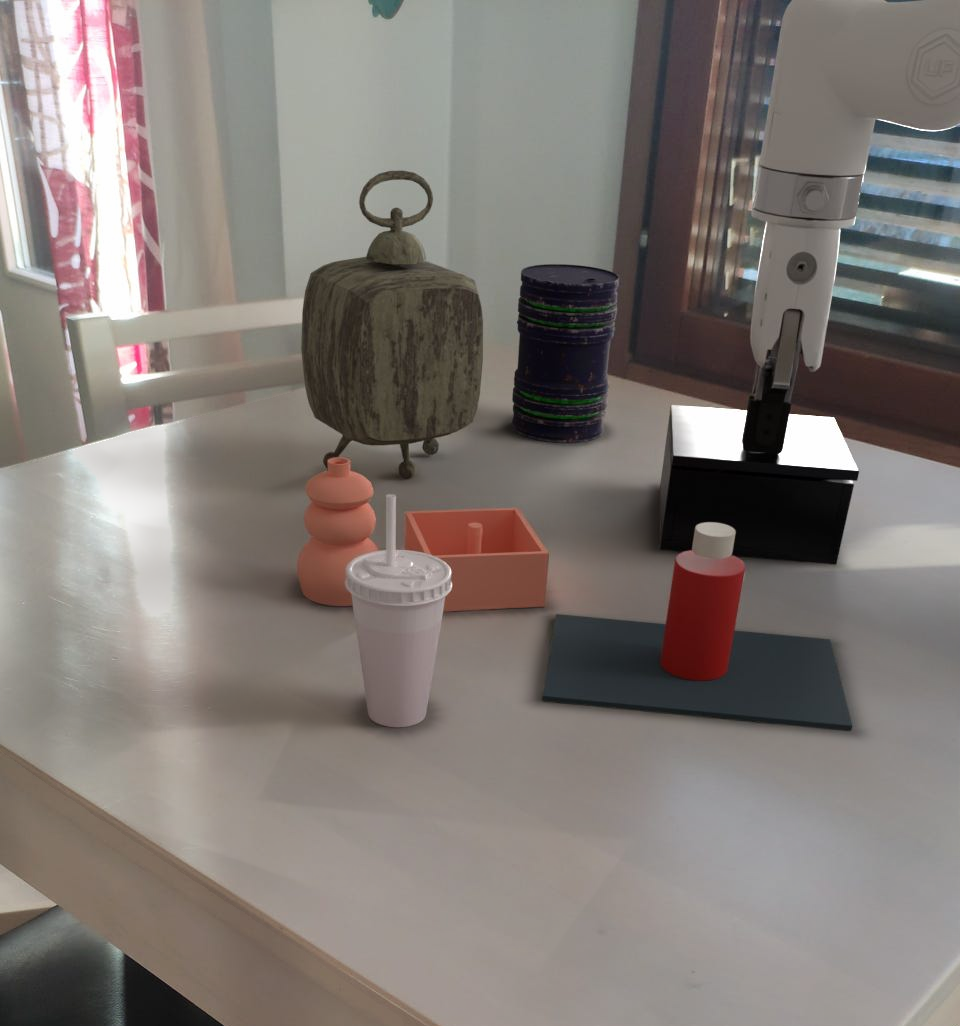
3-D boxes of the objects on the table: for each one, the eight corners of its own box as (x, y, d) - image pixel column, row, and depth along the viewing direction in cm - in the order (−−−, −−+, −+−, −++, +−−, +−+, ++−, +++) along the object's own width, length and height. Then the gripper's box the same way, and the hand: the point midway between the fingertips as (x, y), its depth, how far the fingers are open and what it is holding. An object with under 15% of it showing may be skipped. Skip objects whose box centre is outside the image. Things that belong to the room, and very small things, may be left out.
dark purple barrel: (490, 423, 132) (498, 269, 123) (556, 409, 138) (568, 260, 129) (558, 448, 126) (572, 288, 118) (624, 432, 132) (641, 278, 123)
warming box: (836, 564, 104) (854, 484, 100) (659, 549, 105) (670, 468, 101) (817, 501, 117) (832, 427, 113) (659, 487, 118) (669, 414, 114)
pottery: (514, 558, 102) (522, 436, 96) (544, 606, 95) (555, 477, 89) (291, 567, 98) (286, 440, 93) (304, 618, 91) (299, 484, 85)
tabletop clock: (437, 448, 124) (445, 162, 110) (487, 475, 118) (502, 176, 104) (305, 467, 118) (295, 165, 103) (350, 498, 112) (346, 182, 97)
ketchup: (725, 654, 88) (749, 519, 83) (728, 684, 85) (753, 545, 79) (660, 648, 89) (679, 513, 83) (660, 677, 85) (680, 539, 79)
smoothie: (378, 680, 84) (379, 471, 75) (464, 704, 81) (474, 492, 73) (327, 721, 79) (321, 502, 71) (417, 748, 77) (422, 525, 69)
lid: (857, 481, 99) (859, 470, 99) (671, 465, 100) (673, 455, 100) (832, 426, 113) (834, 417, 112) (669, 413, 114) (670, 404, 114)
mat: (829, 644, 92) (830, 639, 91) (851, 731, 81) (852, 725, 81) (555, 618, 93) (555, 613, 93) (542, 701, 82) (542, 695, 82)
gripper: (872, 217, 85) (817, 484, 96) (845, 187, 98) (799, 427, 108) (761, 209, 86) (718, 475, 97) (748, 180, 98) (711, 419, 109)
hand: (761, 449), depth 102 cm, fingers closed
